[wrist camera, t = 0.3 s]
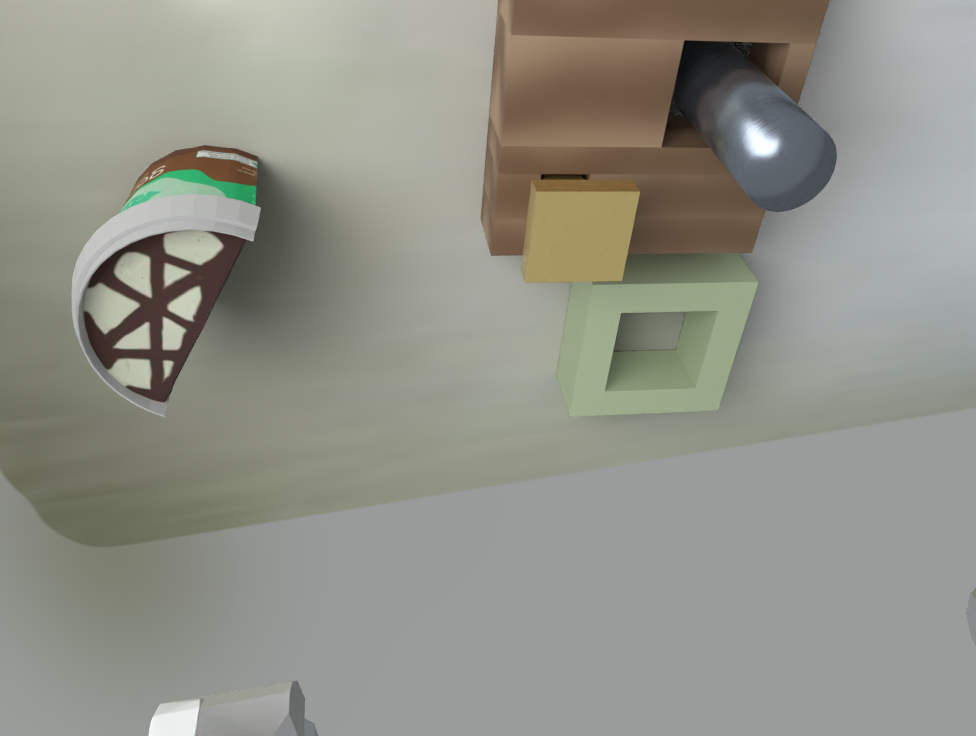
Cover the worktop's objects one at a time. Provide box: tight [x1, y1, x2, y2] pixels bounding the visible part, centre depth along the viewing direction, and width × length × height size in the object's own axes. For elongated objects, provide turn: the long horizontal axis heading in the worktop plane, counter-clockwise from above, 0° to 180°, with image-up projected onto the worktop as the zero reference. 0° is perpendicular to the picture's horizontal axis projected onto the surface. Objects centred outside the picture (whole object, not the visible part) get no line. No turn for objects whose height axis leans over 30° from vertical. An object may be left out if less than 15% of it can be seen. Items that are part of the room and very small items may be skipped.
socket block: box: [481, 0, 829, 256], centre depth 45 cm, size 15×15×4 cm
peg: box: [672, 40, 837, 212], centre depth 42 cm, size 4×4×12 cm
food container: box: [72, 145, 261, 417], centre depth 43 cm, size 12×6×10 cm, turn 148°
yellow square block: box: [521, 174, 640, 283], centre depth 44 cm, size 5×5×5 cm
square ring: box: [556, 253, 759, 417], centre depth 55 cm, size 10×10×4 cm
